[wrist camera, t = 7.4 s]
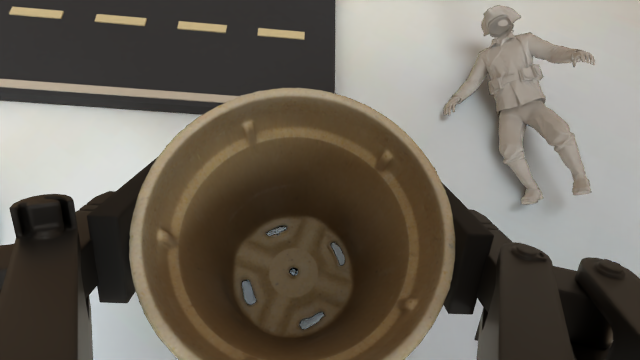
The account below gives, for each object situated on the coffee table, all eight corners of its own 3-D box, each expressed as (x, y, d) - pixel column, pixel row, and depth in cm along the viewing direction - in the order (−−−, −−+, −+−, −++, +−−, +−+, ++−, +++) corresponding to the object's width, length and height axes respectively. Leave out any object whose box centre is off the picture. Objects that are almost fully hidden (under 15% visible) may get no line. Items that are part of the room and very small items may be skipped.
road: (334, -14, 28) (335, -25, 27) (332, 123, 23) (334, 115, 22) (20, -44, 26) (11, -57, 25) (-56, 96, 21) (-70, 86, 20)
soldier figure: (467, 216, 22) (415, 24, 23) (484, 205, 26) (439, 42, 27) (635, 187, 17) (563, -50, 18) (625, 179, 21) (566, -16, 22)
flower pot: (154, 276, 18) (54, 220, 10) (290, 155, 21) (293, 42, 14) (294, 430, 16) (304, 506, 8) (420, 268, 19) (513, 213, 12)
